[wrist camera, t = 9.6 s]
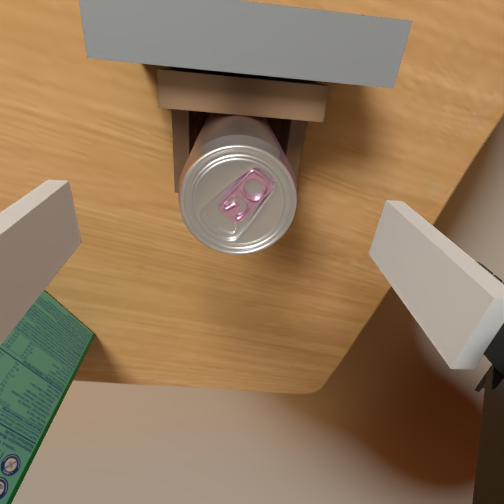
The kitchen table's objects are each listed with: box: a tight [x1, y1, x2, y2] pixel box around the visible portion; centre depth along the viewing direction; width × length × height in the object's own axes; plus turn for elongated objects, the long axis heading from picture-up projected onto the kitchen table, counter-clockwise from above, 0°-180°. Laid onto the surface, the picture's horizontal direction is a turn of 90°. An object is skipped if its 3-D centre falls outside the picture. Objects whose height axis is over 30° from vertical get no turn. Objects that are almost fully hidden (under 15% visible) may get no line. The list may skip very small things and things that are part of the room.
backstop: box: [79, 0, 412, 88], centre depth 20 cm, size 16×3×10 cm, turn 85°
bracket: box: [157, 67, 330, 193], centre depth 24 cm, size 10×9×8 cm
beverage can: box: [178, 112, 297, 255], centre depth 22 cm, size 6×6×15 cm
